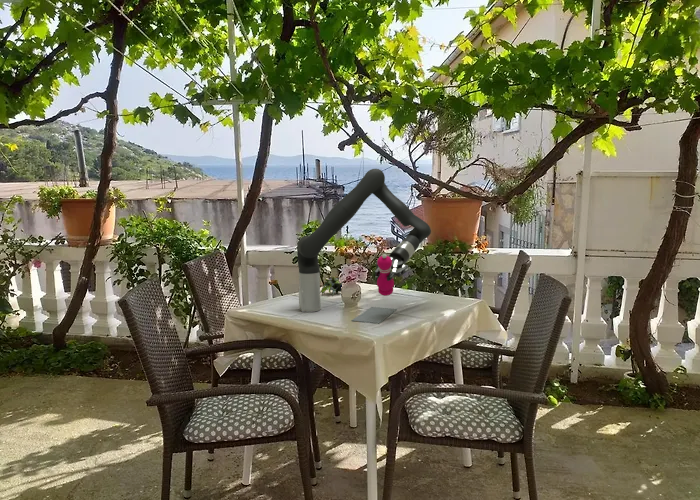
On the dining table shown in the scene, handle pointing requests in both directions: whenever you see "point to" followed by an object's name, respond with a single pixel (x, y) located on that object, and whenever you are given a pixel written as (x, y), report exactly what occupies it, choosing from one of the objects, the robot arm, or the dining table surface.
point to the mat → (375, 315)
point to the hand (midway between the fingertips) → (381, 276)
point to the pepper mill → (384, 275)
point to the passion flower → (332, 285)
